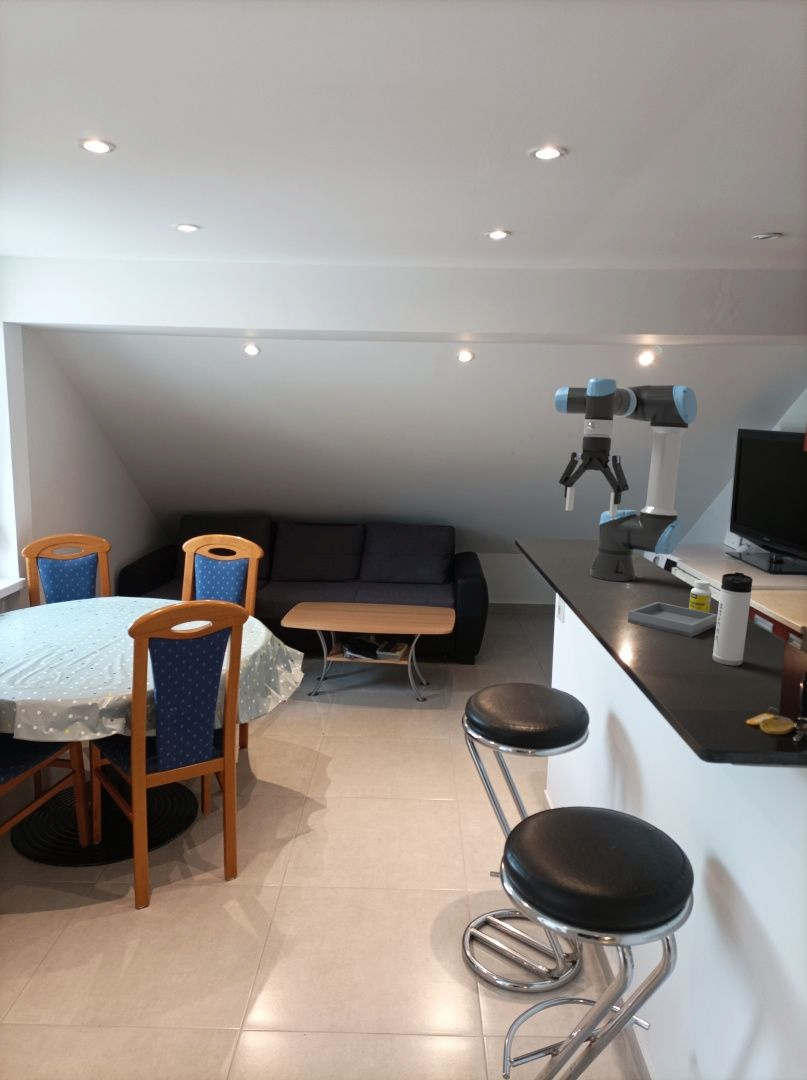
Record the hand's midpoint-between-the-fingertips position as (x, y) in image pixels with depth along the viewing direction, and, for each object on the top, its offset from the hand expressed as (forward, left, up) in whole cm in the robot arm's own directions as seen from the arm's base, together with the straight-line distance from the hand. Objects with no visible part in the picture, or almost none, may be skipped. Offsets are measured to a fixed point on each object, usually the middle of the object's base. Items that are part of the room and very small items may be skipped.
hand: (590, 513), depth 208 cm
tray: (-4, +25, -27) cm, 37 cm away
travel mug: (+17, +47, -27) cm, 56 cm away
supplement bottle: (-19, +26, -27) cm, 42 cm away
